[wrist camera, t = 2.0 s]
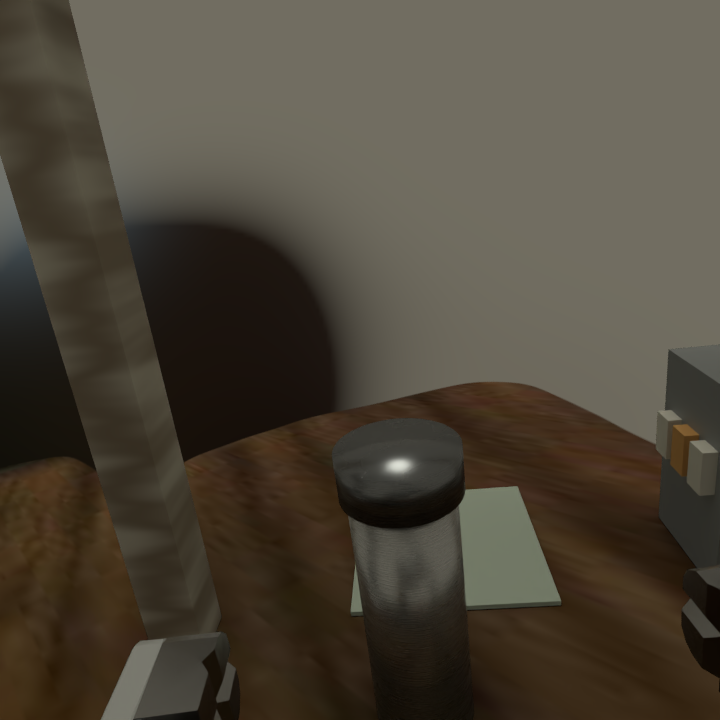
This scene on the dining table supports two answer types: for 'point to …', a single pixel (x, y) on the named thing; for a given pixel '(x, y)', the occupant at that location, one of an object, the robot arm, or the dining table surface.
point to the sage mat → (497, 554)
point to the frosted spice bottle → (409, 564)
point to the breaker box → (692, 452)
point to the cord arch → (99, 312)
